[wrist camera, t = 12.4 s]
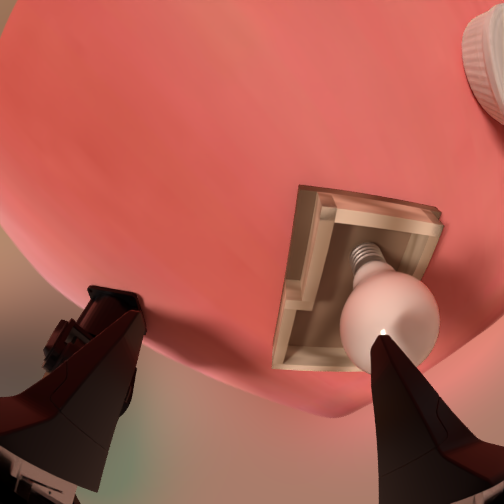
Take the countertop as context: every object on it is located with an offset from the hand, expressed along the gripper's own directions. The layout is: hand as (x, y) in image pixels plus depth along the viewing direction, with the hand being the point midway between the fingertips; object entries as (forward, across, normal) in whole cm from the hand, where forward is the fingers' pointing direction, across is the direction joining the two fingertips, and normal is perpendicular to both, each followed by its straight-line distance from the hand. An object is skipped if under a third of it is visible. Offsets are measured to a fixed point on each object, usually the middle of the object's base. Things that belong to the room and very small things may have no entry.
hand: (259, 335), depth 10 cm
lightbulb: (+12, -8, +4) cm, 15 cm away
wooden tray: (+13, -8, +8) cm, 17 cm away
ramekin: (+13, -18, -15) cm, 27 cm away
